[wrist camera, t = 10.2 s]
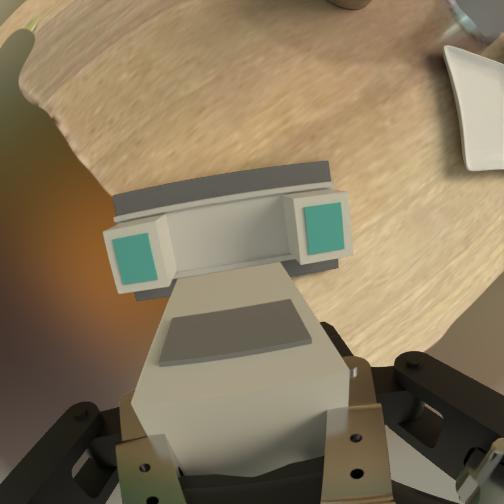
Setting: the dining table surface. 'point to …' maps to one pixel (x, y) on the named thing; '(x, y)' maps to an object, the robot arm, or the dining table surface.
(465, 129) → the salad plate
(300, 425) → the loose module
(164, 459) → the robot arm
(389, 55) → the dining table surface
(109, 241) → the board
